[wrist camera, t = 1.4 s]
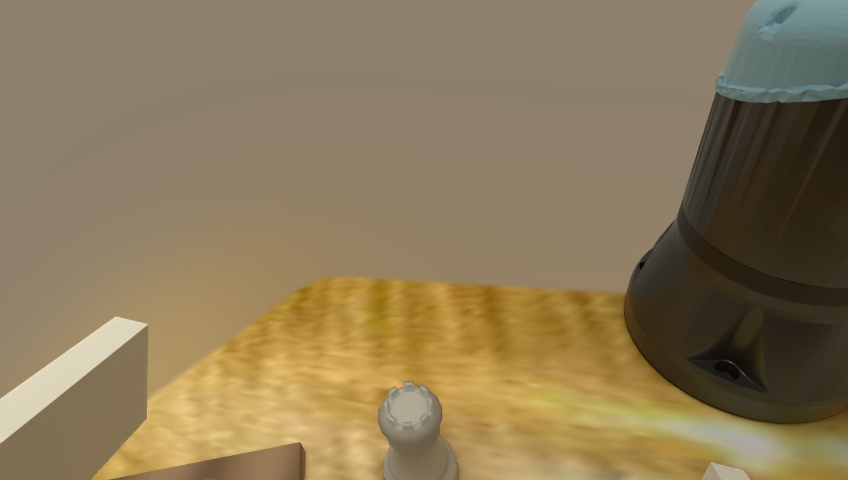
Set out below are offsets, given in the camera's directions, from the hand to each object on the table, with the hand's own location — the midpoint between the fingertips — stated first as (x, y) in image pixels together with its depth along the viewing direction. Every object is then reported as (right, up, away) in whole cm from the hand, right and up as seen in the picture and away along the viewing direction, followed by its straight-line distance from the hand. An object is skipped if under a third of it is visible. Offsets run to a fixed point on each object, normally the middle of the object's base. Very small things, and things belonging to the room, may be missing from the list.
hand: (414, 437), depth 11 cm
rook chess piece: (0, -10, +18) cm, 20 cm away
